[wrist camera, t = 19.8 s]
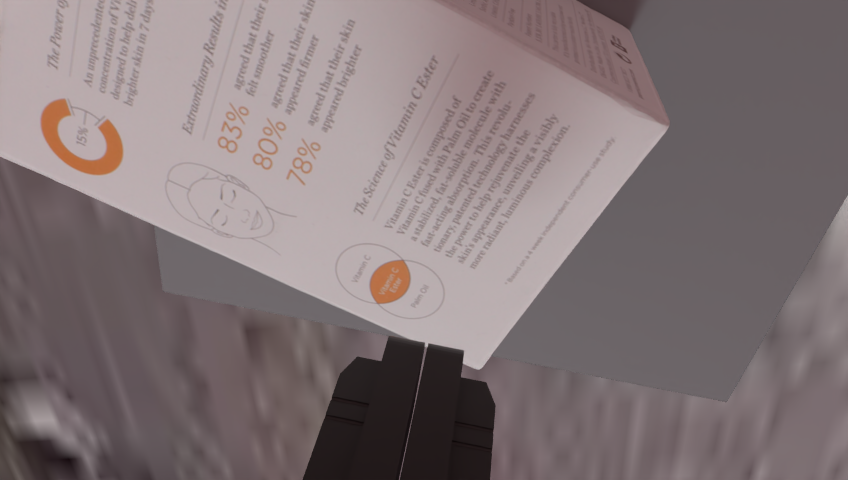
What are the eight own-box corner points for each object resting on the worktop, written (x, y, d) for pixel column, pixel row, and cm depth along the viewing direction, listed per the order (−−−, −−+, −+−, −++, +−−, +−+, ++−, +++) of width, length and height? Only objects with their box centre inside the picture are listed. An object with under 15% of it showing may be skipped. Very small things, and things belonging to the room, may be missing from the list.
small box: (636, 29, 17) (179, -225, 16) (681, 126, 12) (2, -237, 10) (491, 242, 22) (123, 65, 20) (478, 380, 17) (-19, 157, 15)
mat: (979, -61, 16) (993, -57, 15) (722, 390, 25) (726, 402, 24) (109, -199, 17) (96, -199, 16) (170, 282, 26) (163, 291, 25)
